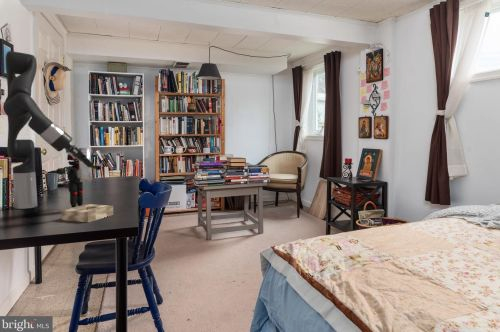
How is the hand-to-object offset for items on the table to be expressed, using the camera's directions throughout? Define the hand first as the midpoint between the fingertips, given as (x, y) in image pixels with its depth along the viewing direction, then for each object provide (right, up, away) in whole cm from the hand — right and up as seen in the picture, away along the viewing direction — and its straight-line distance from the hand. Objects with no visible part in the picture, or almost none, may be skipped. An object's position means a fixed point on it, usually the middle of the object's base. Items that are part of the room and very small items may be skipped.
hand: (90, 165), depth 144 cm
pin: (-1, -7, -1) cm, 7 cm away
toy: (-11, -21, +13) cm, 27 cm away
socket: (-1, -22, +1) cm, 22 cm away
